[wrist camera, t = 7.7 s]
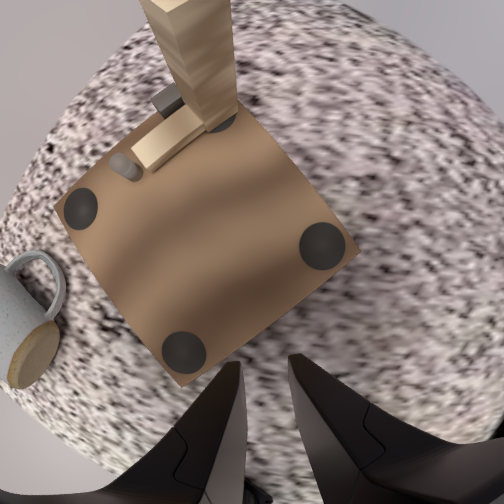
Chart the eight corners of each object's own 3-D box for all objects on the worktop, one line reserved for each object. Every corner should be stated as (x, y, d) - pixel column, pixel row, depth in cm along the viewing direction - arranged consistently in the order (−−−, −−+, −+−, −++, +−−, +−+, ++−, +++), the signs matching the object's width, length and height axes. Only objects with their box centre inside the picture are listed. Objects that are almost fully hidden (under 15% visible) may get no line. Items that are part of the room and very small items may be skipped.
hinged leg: (154, 176, 19) (54, 99, 7) (134, 150, 19) (35, 64, 7) (238, 111, 19) (228, -19, 7) (216, 88, 19) (190, -40, 7)
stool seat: (355, 251, 21) (380, 251, 17) (184, 381, 21) (171, 408, 17) (213, 81, 21) (207, 49, 16) (61, 208, 21) (29, 201, 16)
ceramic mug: (52, 378, 21) (2, 410, 13) (-2, 324, 21) (-54, 339, 13) (91, 284, 21) (32, 296, 13) (30, 231, 21) (-30, 224, 13)
